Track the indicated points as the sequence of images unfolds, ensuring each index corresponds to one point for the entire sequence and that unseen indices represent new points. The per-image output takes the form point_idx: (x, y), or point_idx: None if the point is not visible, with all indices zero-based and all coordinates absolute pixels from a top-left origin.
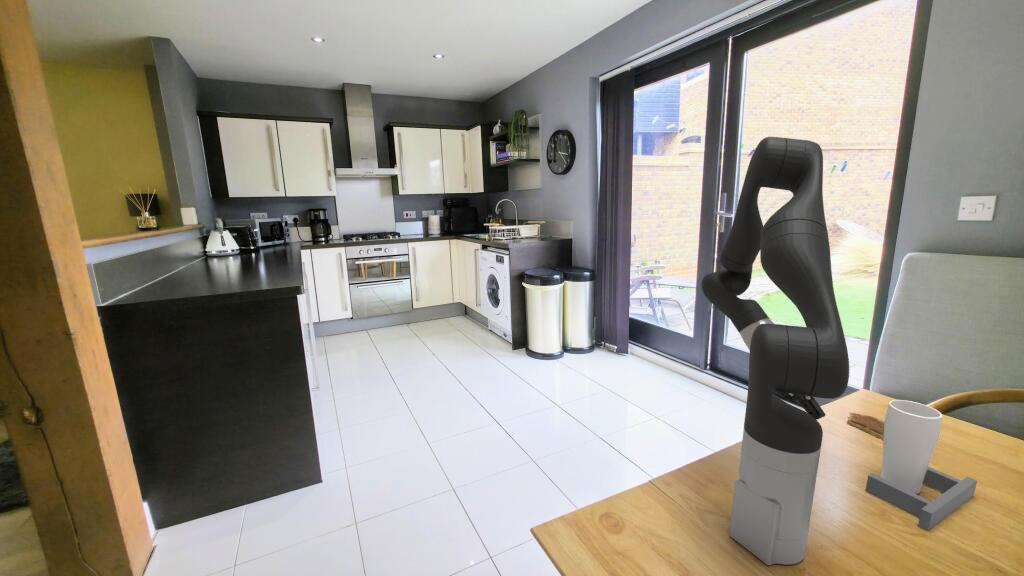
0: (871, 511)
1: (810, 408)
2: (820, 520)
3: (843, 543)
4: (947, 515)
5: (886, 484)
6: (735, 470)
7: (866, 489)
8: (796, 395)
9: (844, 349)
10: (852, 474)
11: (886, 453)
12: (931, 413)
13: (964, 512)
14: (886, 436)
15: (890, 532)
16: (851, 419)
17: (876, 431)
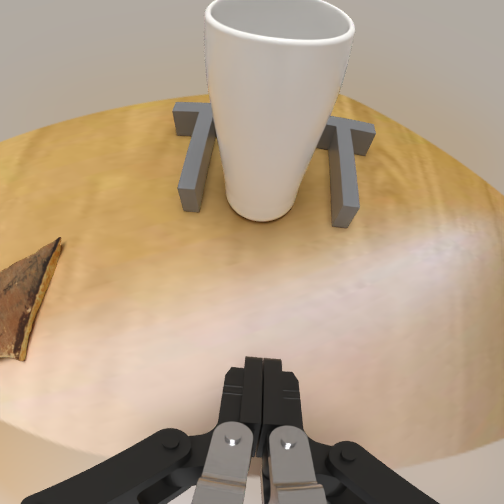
0: (399, 204)
1: (300, 404)
2: (484, 244)
3: (488, 210)
4: None
5: (356, 178)
6: (499, 400)
7: (347, 225)
8: (377, 461)
9: None
10: (304, 265)
11: (305, 165)
12: (222, 14)
13: None
14: (317, 133)
15: (418, 177)
16: (9, 352)
17: (34, 289)
